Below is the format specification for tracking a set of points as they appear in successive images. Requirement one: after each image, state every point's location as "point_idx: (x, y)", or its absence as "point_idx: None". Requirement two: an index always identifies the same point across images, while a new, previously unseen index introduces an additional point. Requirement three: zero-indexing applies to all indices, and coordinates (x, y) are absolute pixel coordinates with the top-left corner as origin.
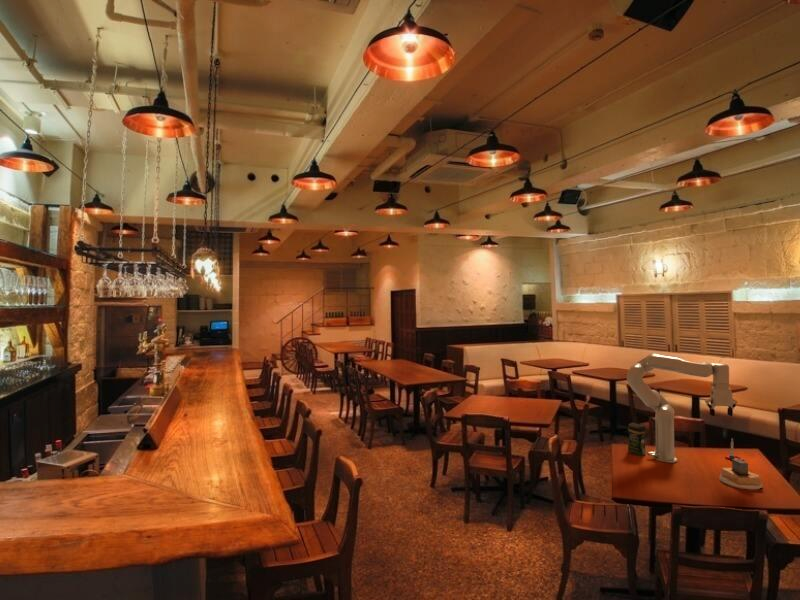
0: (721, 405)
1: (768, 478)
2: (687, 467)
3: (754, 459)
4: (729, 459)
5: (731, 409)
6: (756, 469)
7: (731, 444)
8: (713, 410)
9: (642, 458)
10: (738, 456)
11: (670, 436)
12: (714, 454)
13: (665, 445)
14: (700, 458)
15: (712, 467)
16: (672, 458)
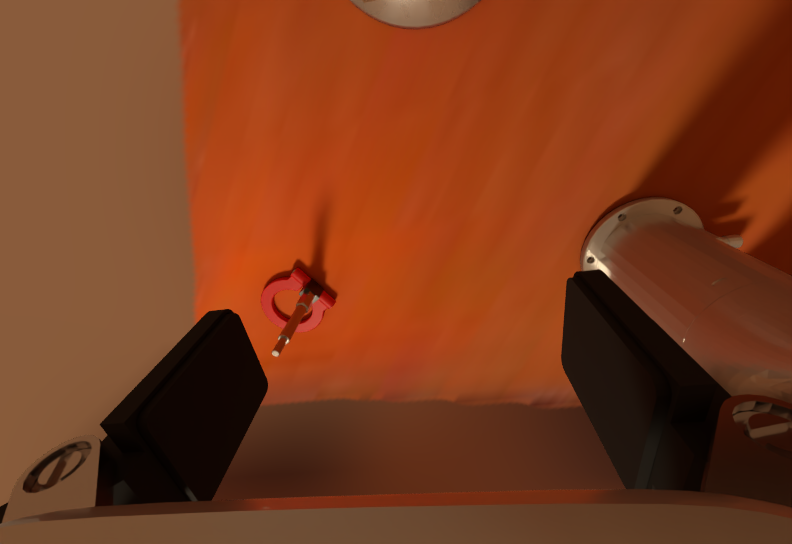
0: (500, 528)
1: (227, 37)
2: (592, 142)
3: (219, 305)
4: (322, 288)
5: (127, 417)
6: (247, 176)
7: (292, 329)
8: (684, 353)
9: (755, 245)
10: (274, 320)
11: (753, 278)
12: (360, 340)
13: (733, 247)
14: (447, 286)
15: (452, 167)
16: (631, 224)
